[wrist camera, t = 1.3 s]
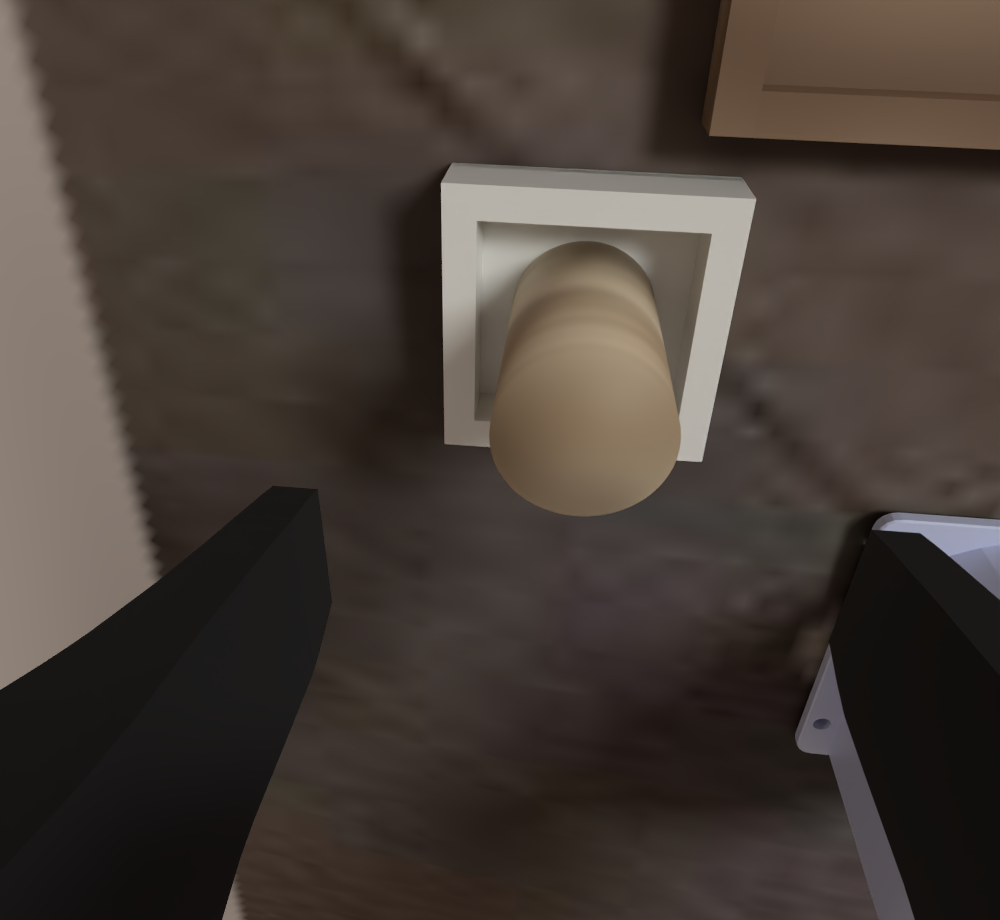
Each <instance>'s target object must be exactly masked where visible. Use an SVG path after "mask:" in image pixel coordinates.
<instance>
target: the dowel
mask: <svg viewBox="0 0 1000 920" xmlns="http://www.w3.org/2000/svg"><path fill="white" fill-rule="evenodd" d="M489 441H490V449H491V454H492V457H493V460H494V462H495V465H496V467H497V469H498V471H499V472H500V474H501V476H502V477H503V478H504V480H505V481H506V482H507V483H508V485H509V486H510V487H511V488H512V489H513V490H514V491H515V492H517V493H518V494H519V495H520V496H522V497H523V498H525V499H526V500H528V501H529V502H531V503H533V504H535V505H537V506H539V507H541V508H543V509H546V510H549V511H552V512H555V513H560V514H564V515H571V516H599V515H605V514H610V513H614V512H617V511H620V510H623V509H626V508H628V507H630V506H633V505H635V504H636V503H638V502H640V501H642V500H643V499H645V498H646V497H648V496H649V495H650V494H652V493H653V492H654V491H655V490H656V489H657V488H658V487H659V486H660V485H661V484H662V483H663V482H664V480H665V479H666V478H667V477H668V475H669V473H670V472H671V470H672V469H673V467H674V464H675V462H676V460H677V457H678V453H679V449H680V443H681V426H680V421H679V416H678V411H677V406H676V401H675V396H674V392H673V387H672V382H671V377H670V372H669V367H668V362H667V357H666V352H665V347H664V342H663V337H662V332H661V327H660V322H659V317H658V312H657V308H656V303H655V298H654V293H653V288H652V286H651V283H650V280H649V278H648V277H647V275H646V273H645V271H644V270H643V269H642V267H641V266H640V265H639V264H638V263H637V262H636V261H635V260H634V259H633V258H632V257H631V256H629V255H628V254H627V253H625V252H624V251H622V250H620V249H618V248H616V247H614V246H611V245H609V244H605V243H601V242H595V241H576V242H569V243H566V244H562V245H559V246H557V247H554V248H552V249H550V250H548V251H547V252H545V253H543V254H542V255H540V256H539V257H538V258H537V259H535V260H534V261H533V262H532V263H531V264H530V265H529V266H528V268H527V269H526V270H525V272H524V273H523V275H522V276H521V278H520V280H519V282H518V284H517V287H516V289H515V293H514V297H513V302H512V308H511V313H510V319H509V324H508V330H507V335H506V341H505V346H504V351H503V357H502V362H501V368H500V373H499V379H498V384H497V390H496V395H495V401H494V406H493V411H492V417H491V422H490V431H489Z"/></svg>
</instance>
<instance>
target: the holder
mask: <svg viewBox="0 0 1000 920" xmlns="http://www.w3.org/2000/svg"><path fill="white" fill-rule="evenodd" d="M755 203H756V198H755V196H754V195H753V193H752V192H751V190H750V189H749V187H748V186H747V184H746V183H745V181H744V180H743V178H742V177H728V176H708V175H688V174H668V173H648V172H628V171H609V170H589V169H569V168H549V167H529V166H509V165H489V164H469V163H452V164H451V166H450V167H449V169H448V171H447V173H446V175H445V176H444V178H443V180H442V182H441V223H442V297H443V371H444V444H452V445H466V446H480V447H490V441H489V431H490V422H491V417H492V411H493V406H494V401H495V395H496V390H497V384H498V379H499V373H500V368H501V362H502V357H503V351H504V346H505V341H506V335H507V330H508V324H509V319H510V313H511V308H512V302H513V297H514V293H515V289H516V287H517V284H518V282H519V280H520V278H521V276H522V275H523V273H524V272H525V270H526V269H527V268H528V266H529V265H530V264H531V263H532V262H533V261H534V260H535V259H537V258H538V257H539V256H540V255H542V254H543V253H545V252H547V251H548V250H550V249H552V248H554V247H557V246H559V245H562V244H566V243H569V242H576V241H595V242H601V243H605V244H609V245H611V246H614V247H616V248H618V249H620V250H622V251H624V252H625V253H627V254H628V255H629V256H631V257H632V258H633V259H634V260H635V261H636V262H637V263H638V264H639V265H640V266H641V267H642V269H643V270H644V271H645V273H646V275H647V277H648V278H649V280H650V283H651V286H652V288H653V293H654V298H655V303H656V308H657V312H658V317H659V322H660V327H661V332H662V337H663V342H664V347H665V352H666V357H667V362H668V367H669V372H670V377H671V382H672V387H673V392H674V396H675V401H676V406H677V411H678V416H679V421H680V426H681V443H680V449H679V453H678V457H677V460H680V461H694V462H702V458H703V454H704V449H705V444H706V439H707V434H708V429H709V425H710V420H711V415H712V410H713V405H714V400H715V396H716V391H717V386H718V381H719V376H720V372H721V367H722V362H723V357H724V352H725V347H726V343H727V338H728V333H729V328H730V323H731V318H732V314H733V309H734V304H735V299H736V294H737V289H738V285H739V280H740V275H741V270H742V265H743V261H744V256H745V251H746V246H747V241H748V236H749V232H750V227H751V222H752V217H753V212H754V207H755Z"/></svg>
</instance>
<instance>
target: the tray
mask: <svg viewBox="0 0 1000 920" xmlns="http://www.w3.org/2000/svg"><path fill="white" fill-rule="evenodd" d="M701 124H702V125H703V127H704V128H705V130H706V132H707V133H708V135H709V136H723V137H744V138H765V139H786V140H807V141H828V142H849V143H870V144H891V145H912V146H933V147H954V148H975V149H996V150H1000V0H721V1H720V8H719V14H718V20H717V26H716V33H715V39H714V45H713V51H712V58H711V64H710V70H709V76H708V83H707V89H706V95H705V101H704V108H703V114H702V120H701Z"/></svg>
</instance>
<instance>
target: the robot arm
mask: <svg viewBox="0 0 1000 920" xmlns="http://www.w3.org/2000/svg"><path fill="white" fill-rule="evenodd" d="M331 603H332V600H331V592H330V584H329V576H328V568H327V560H326V552H325V544H324V536H323V528H322V520H321V513H320V505H319V497H318V489H307V488H293V487H279V486H272V487H271V488H270V489H269V490H267V491H266V492H265V493H264V494H262V495H261V496H260V497H259V498H257V499H256V500H255V501H254V502H253V503H252V504H250V505H249V506H248V507H247V508H246V509H244V510H243V511H242V512H241V513H240V514H238V515H237V516H236V517H235V518H234V519H233V520H231V521H230V522H229V523H228V524H227V525H225V526H224V527H223V528H222V529H221V530H220V531H218V532H217V533H216V534H215V535H214V536H212V537H211V538H210V539H209V540H208V541H206V542H205V543H204V544H203V545H202V546H201V547H199V548H198V549H197V550H196V551H194V552H193V553H192V554H191V555H190V556H188V557H187V558H186V559H185V560H183V561H182V562H181V563H180V564H178V565H177V566H176V567H175V568H174V569H172V570H171V571H170V572H169V573H167V574H166V575H165V576H164V577H162V578H161V579H160V580H159V581H158V582H156V583H155V584H154V585H152V586H151V587H150V588H148V589H147V590H146V591H144V592H143V593H141V594H140V595H139V596H137V597H136V598H135V599H134V600H132V601H131V602H129V603H128V604H127V605H125V606H124V607H123V608H121V609H120V610H119V611H117V612H116V613H115V614H113V615H112V616H111V617H109V618H108V619H107V620H105V621H104V622H102V623H101V624H100V625H98V626H97V627H96V628H94V629H93V630H92V631H90V632H89V633H88V634H86V635H85V636H83V637H82V638H80V639H79V640H77V641H76V642H74V643H73V644H72V645H70V646H69V647H67V648H66V649H64V650H63V651H61V652H60V653H58V654H57V655H55V656H53V657H52V658H50V659H49V660H47V661H46V662H44V663H43V664H41V665H40V666H38V667H37V668H35V669H33V670H31V671H30V672H28V673H27V674H25V675H24V676H22V677H20V678H19V679H17V680H16V681H14V682H13V683H11V684H9V685H8V686H6V687H4V688H3V689H1V690H0V920H222V918H223V914H224V911H225V908H226V904H227V901H228V897H229V894H230V891H231V887H232V884H233V881H234V877H235V874H236V870H237V867H238V864H239V860H240V857H241V854H242V852H243V849H244V846H245V843H246V840H247V838H248V835H249V832H250V829H251V826H252V824H253V821H254V818H255V816H256V814H257V811H258V809H259V806H260V804H261V801H262V799H263V796H264V794H265V791H266V789H267V786H268V784H269V781H270V779H271V776H272V774H273V771H274V769H275V766H276V764H277V762H278V759H279V757H280V754H281V752H282V749H283V747H284V744H285V742H286V739H287V737H288V734H289V732H290V729H291V727H292V724H293V722H294V719H295V717H296V714H297V712H298V709H299V707H300V704H301V702H302V699H303V697H304V694H305V692H306V689H307V687H308V684H309V682H310V679H311V676H312V674H313V671H314V668H315V665H316V661H317V657H318V654H319V650H320V646H321V643H322V639H323V635H324V631H325V627H326V623H327V619H328V615H329V611H330V607H331ZM795 740H796V743H797V746H798V748H799V749H800V750H802V751H803V752H807V753H813V754H824V755H829V757H830V760H831V764H832V767H833V770H834V773H835V777H836V780H837V783H838V787H839V790H840V793H841V797H842V800H843V803H844V807H845V810H846V813H847V817H848V820H849V823H850V827H851V830H852V833H853V837H854V840H855V843H856V847H857V850H858V853H859V857H860V860H861V863H862V867H863V870H864V873H865V877H866V880H867V883H868V887H869V890H870V893H871V897H872V900H873V903H874V907H875V910H876V913H877V917H878V920H1000V520H995V519H982V518H968V517H954V516H940V515H927V514H913V513H899V512H898V513H889V514H887V515H884V516H882V517H881V518H879V519H878V520H877V521H876V522H875V524H874V525H873V528H872V530H871V531H870V534H869V536H868V539H867V542H866V544H865V547H864V550H863V552H862V555H861V558H860V560H859V563H858V566H857V568H856V571H855V574H854V576H853V579H852V582H851V584H850V587H849V590H848V592H847V595H846V598H845V600H844V603H843V606H842V608H841V611H840V614H839V616H838V619H837V622H836V624H835V627H834V630H833V632H832V635H831V638H830V640H829V645H828V648H827V650H826V653H825V656H824V658H823V661H822V664H821V666H820V669H819V672H818V674H817V677H816V680H815V682H814V685H813V688H812V690H811V693H810V696H809V698H808V701H807V704H806V706H805V709H804V712H803V714H802V717H801V720H800V722H799V725H798V728H797V730H796V733H795Z"/></svg>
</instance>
